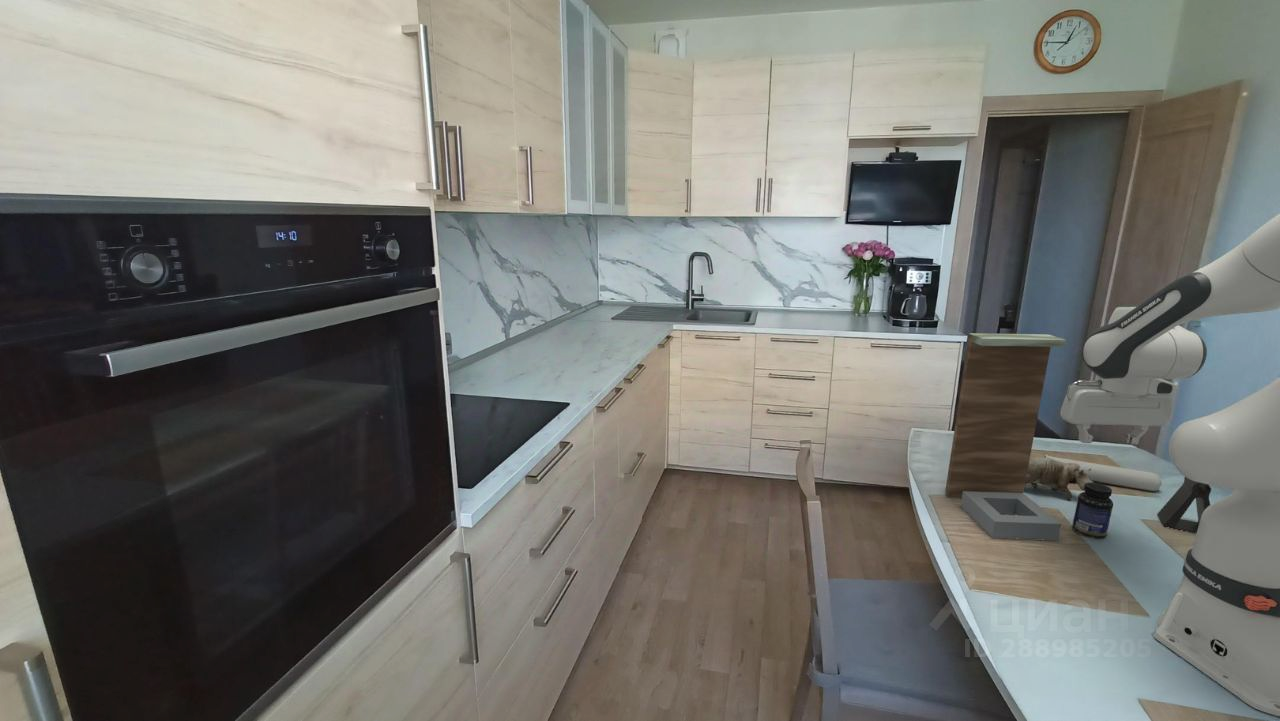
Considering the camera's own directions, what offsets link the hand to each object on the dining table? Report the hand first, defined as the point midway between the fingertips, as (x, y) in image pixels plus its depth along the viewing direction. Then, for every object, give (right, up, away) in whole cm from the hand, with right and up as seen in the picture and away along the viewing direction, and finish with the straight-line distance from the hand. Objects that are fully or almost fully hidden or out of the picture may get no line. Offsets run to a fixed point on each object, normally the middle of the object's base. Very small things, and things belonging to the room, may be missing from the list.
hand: (1108, 442), depth 121 cm
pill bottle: (0, -21, +5) cm, 22 cm away
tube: (+22, -15, +30) cm, 40 cm away
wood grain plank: (-14, -17, +19) cm, 29 cm away
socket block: (-16, -20, +9) cm, 27 cm away
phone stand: (+24, -20, +8) cm, 32 cm away
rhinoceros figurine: (+5, -17, +22) cm, 28 cm away
